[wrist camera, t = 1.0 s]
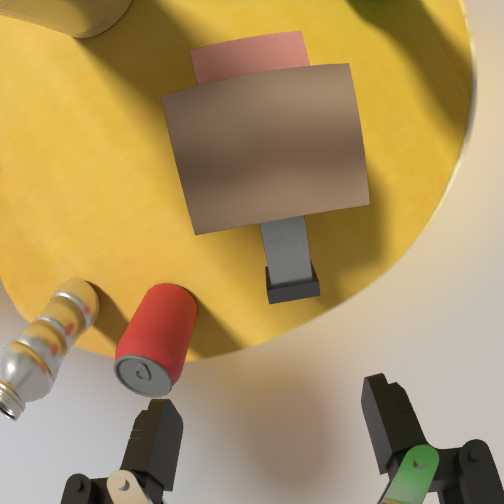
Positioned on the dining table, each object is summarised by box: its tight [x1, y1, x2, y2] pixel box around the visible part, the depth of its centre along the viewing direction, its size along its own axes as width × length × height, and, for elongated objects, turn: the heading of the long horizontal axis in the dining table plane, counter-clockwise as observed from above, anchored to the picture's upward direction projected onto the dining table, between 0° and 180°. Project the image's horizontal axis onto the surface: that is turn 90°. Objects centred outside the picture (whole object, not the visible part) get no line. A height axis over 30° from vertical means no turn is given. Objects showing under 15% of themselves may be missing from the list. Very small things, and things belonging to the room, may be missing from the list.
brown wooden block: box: [161, 63, 370, 235], centre depth 20 cm, size 8×10×13 cm
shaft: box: [259, 215, 320, 304], centre depth 19 cm, size 18×4×4 cm, turn 11°
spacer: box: [190, 31, 310, 86], centre depth 17 cm, size 2×7×7 cm, turn 101°
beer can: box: [114, 283, 198, 397], centre depth 28 cm, size 7×7×12 cm
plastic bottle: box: [0, 279, 100, 421], centre depth 24 cm, size 6×7×20 cm
